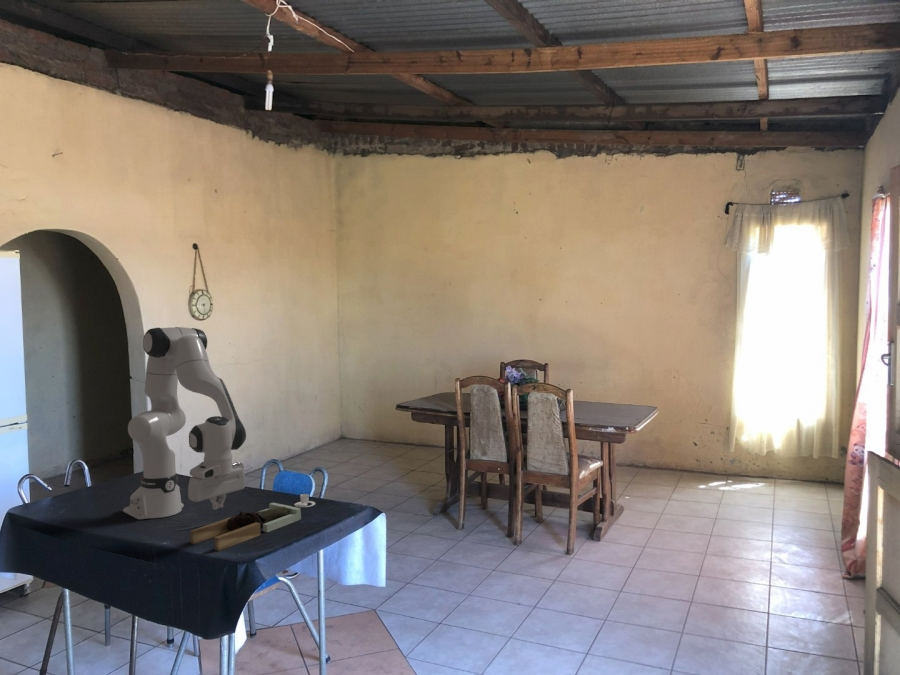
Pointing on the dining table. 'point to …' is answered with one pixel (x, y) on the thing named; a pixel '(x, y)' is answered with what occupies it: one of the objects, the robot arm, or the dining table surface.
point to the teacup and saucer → (304, 501)
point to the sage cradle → (292, 516)
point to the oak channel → (227, 538)
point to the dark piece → (255, 518)
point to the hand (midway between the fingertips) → (217, 508)
